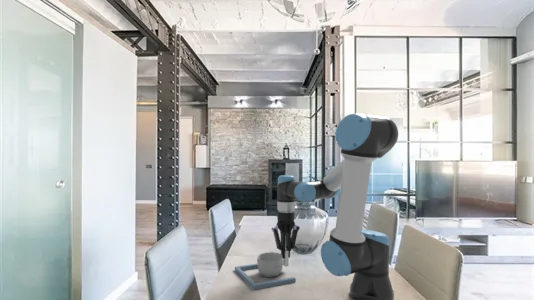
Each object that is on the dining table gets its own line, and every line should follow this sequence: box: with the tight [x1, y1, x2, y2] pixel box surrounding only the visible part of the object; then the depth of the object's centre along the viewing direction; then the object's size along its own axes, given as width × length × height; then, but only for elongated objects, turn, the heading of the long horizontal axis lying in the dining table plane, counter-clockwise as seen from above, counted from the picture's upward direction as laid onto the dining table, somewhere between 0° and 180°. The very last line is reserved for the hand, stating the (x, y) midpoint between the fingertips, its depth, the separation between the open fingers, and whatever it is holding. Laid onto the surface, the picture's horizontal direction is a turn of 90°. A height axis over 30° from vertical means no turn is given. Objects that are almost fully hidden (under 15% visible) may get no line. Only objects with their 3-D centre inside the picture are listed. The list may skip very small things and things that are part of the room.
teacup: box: [256, 251, 284, 278], centre depth 135 cm, size 14×11×8 cm
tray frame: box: [234, 263, 296, 291], centre depth 132 cm, size 22×18×2 cm
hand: (285, 265), depth 138 cm, fingers closed
